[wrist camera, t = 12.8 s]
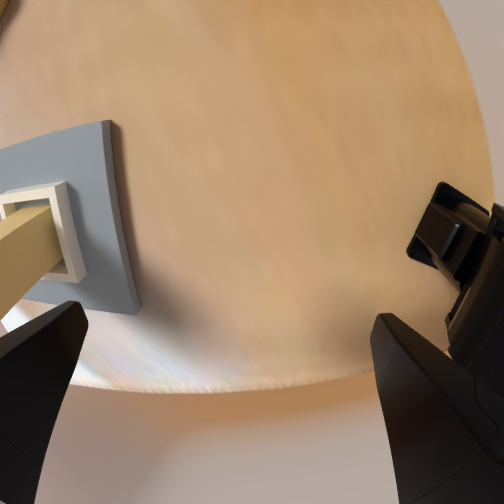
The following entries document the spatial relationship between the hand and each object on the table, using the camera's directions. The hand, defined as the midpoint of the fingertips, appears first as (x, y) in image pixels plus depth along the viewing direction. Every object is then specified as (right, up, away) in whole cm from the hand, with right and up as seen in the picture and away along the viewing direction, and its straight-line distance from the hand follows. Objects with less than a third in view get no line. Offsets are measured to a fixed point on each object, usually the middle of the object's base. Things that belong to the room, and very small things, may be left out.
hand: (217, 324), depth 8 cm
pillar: (-17, +4, +12) cm, 21 cm away
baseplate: (-17, +4, +13) cm, 22 cm away
